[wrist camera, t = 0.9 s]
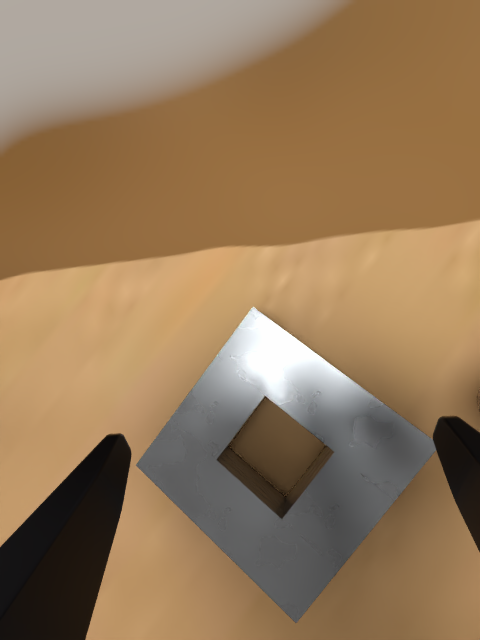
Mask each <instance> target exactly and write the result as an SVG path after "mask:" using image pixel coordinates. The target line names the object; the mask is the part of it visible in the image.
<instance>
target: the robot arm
mask: <svg viewBox="0 0 480 640" xmlns="http://www.w3.org/2000/svg"><path fill="white" fill-rule="evenodd" d="M433 442H434V445H435V448H436V451H437V453H438V456H439V459H440V462H441V464H442V467H443V470H444V473H445V475H446V478H447V481H448V484H449V486H450V489H451V492H452V494H453V497H454V499H455V502H456V504H457V506H458V508H459V510H460V512H461V515H462V517H463V519H464V521H465V523H466V525H467V527H468V529H469V531H470V533H471V535H472V537H473V539H474V541H475V543H476V545H477V548H478V550H479V552H480V432H478V431H477V430H476V429H474V428H473V427H471V426H470V425H469V424H467V423H466V422H465V421H463V420H462V419H461V418H459V417H457V416H442V417H440V418H439V419H438V422H437V425H436V428H435V430H434V433H433ZM130 461H131V449H130V447H129V445H128V443H127V441H126V439H125V437H124V435H123V434H121V433H118V434H109V435H107V436H106V437H105V438H104V439H103V440H102V441H101V442H100V443H99V444H98V445H97V446H96V447H95V448H94V449H93V450H92V451H91V452H90V453H89V454H88V455H87V457H86V458H85V459H84V460H83V461H82V462H81V463H80V464H79V465H78V466H77V467H76V468H75V469H74V470H73V471H72V472H71V473H70V474H69V475H68V476H67V478H66V479H65V480H64V481H63V482H62V483H61V484H60V485H59V486H58V487H57V488H56V489H55V490H54V491H53V492H52V493H51V494H50V495H49V496H48V497H47V499H46V500H45V501H44V502H43V503H42V504H41V505H40V506H39V507H38V508H37V509H36V510H35V511H34V512H33V513H32V514H31V515H30V516H29V517H28V518H27V520H26V521H25V522H24V523H23V524H22V525H21V526H20V527H19V528H18V529H17V530H16V531H15V532H14V533H13V534H12V535H11V536H10V537H9V538H8V539H7V541H6V542H5V543H4V544H3V545H2V546H1V547H0V640H85V639H86V635H87V632H88V628H89V624H90V621H91V617H92V614H93V610H94V607H95V603H96V600H97V596H98V593H99V589H100V586H101V582H102V578H103V575H104V571H105V568H106V564H107V561H108V557H109V554H110V550H111V547H112V543H113V540H114V536H115V533H116V529H117V525H118V522H119V518H120V514H121V511H122V506H123V501H124V495H125V489H126V484H127V478H128V472H129V467H130Z"/></svg>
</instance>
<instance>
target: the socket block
mask: <svg viewBox="0 0 480 640" xmlns="http://www.w3.org/2000/svg"><path fill="white" fill-rule="evenodd" d="M265 396H266V397H267V398H269V399H270V400H271V401H272V402H274V403H275V404H276V405H277V406H279V407H280V408H281V409H282V410H284V411H285V412H286V413H287V414H288V415H290V416H291V417H292V418H293V419H295V420H296V421H297V422H298V423H300V424H301V425H302V426H303V427H305V428H306V429H307V430H308V431H309V432H311V433H312V434H313V435H314V436H316V437H317V438H318V439H319V440H321V441H322V442H323V443H324V444H326V447H325V448H324V449H323V450H322V452H321V453H320V454H319V456H318V457H317V458H316V459H315V461H314V462H313V463H312V465H311V466H310V467H309V468H308V470H307V471H306V472H305V473H304V475H303V476H302V477H301V479H300V480H299V481H298V482H297V484H296V485H295V486H294V488H293V489H292V490H291V491H290V493H289V494H288V495H287V497H286V498H285V497H284V496H283V495H282V494H281V493H280V492H278V491H277V490H276V489H275V488H274V487H273V486H272V485H270V484H269V483H268V482H267V481H266V480H265V479H264V478H263V477H261V476H260V475H259V474H258V473H257V472H256V471H255V470H254V469H252V468H251V467H250V466H249V465H248V464H247V463H246V462H245V461H243V460H242V459H241V458H240V457H239V456H238V455H237V454H235V453H234V452H233V451H232V450H231V449H230V448H229V447H228V445H229V444H230V443H231V441H232V440H233V439H234V437H235V436H236V435H237V433H238V432H239V431H240V429H241V428H242V427H243V425H244V424H245V423H246V421H247V420H248V419H249V417H250V416H251V415H252V414H253V412H254V411H255V410H256V408H257V407H258V406H259V404H260V403H261V402H262V400H263V399H264V398H265ZM435 451H436V448H435V445H434V442H433V440H432V439H431V438H430V437H428V436H427V435H426V434H424V433H423V432H422V431H420V430H419V429H418V428H416V427H415V426H413V425H412V424H411V423H409V422H408V421H407V420H405V419H404V418H403V417H401V416H400V415H399V414H397V413H396V412H394V411H393V410H392V409H390V408H389V407H388V406H386V405H385V404H384V403H382V402H381V401H380V400H378V399H377V398H376V397H374V396H373V395H371V394H370V393H369V392H367V391H366V390H365V389H363V388H362V387H361V386H359V385H358V384H357V383H355V382H354V381H353V380H351V379H350V378H348V377H347V376H346V375H344V374H343V373H342V372H340V371H339V370H338V369H336V368H335V367H334V366H332V365H331V364H330V363H328V362H327V361H325V360H324V359H323V358H321V357H320V356H319V355H317V354H316V353H315V352H313V351H312V350H311V349H309V348H308V347H307V346H305V345H304V344H302V343H301V342H300V341H298V340H297V339H296V338H294V337H293V336H292V335H290V334H289V333H288V332H286V331H285V330H284V329H282V328H281V327H279V326H278V325H277V324H275V323H274V322H273V321H271V320H270V319H269V318H267V317H266V316H265V315H263V314H262V313H261V312H259V311H258V310H256V309H255V308H254V307H252V309H251V310H250V311H249V313H248V314H247V316H246V317H245V318H244V320H243V321H242V322H241V324H240V325H239V326H238V328H237V329H236V330H235V332H234V333H233V334H232V336H231V337H230V339H229V340H228V341H227V343H226V344H225V345H224V347H223V348H222V349H221V351H220V352H219V353H218V355H217V356H216V357H215V359H214V360H213V362H212V363H211V364H210V366H209V367H208V368H207V370H206V371H205V372H204V374H203V375H202V376H201V378H200V379H199V380H198V382H197V383H196V385H195V386H194V387H193V389H192V390H191V391H190V393H189V394H188V395H187V397H186V398H185V399H184V401H183V402H182V403H181V405H180V406H179V408H178V409H177V410H176V412H175V413H174V414H173V416H172V417H171V418H170V420H169V421H168V422H167V424H166V425H165V426H164V428H163V429H162V430H161V432H160V433H159V435H158V436H157V437H156V439H155V440H154V441H153V443H152V444H151V445H150V447H149V448H148V449H147V451H146V452H145V453H144V455H143V456H142V458H141V459H140V460H139V462H138V463H137V464H136V466H137V467H138V468H139V469H140V470H141V471H142V472H143V473H144V474H145V475H146V476H147V477H148V478H150V479H151V480H152V481H153V482H154V483H155V484H156V485H157V486H158V487H159V488H160V489H161V490H162V491H163V492H164V493H165V494H166V495H167V496H168V497H169V498H170V499H171V500H172V501H173V502H174V503H175V504H176V505H177V506H178V507H179V508H180V509H181V510H182V511H183V512H184V513H185V514H186V515H187V516H188V517H189V518H190V519H191V520H192V521H193V522H194V523H195V524H196V525H197V526H198V527H199V528H200V529H201V530H202V531H203V532H204V533H205V534H206V535H207V536H208V537H209V538H210V539H211V540H212V541H213V542H214V543H215V544H216V545H217V546H218V547H219V548H220V549H221V550H222V551H223V552H224V553H225V554H227V555H228V556H229V557H230V558H231V559H232V560H233V561H234V562H235V563H236V564H237V565H238V566H239V567H240V568H241V569H242V570H243V571H244V572H245V573H246V574H247V575H248V576H249V577H250V578H251V579H252V580H253V581H254V582H255V583H256V584H257V585H258V586H259V587H260V588H261V589H262V590H263V591H264V592H265V593H266V594H267V595H268V596H269V597H270V598H271V599H272V600H273V601H274V602H275V603H276V604H277V605H278V606H279V607H280V608H281V609H282V610H283V611H284V612H285V613H286V614H287V615H288V616H289V617H290V618H291V619H292V620H293V621H294V622H295V623H297V622H298V620H299V619H300V618H301V617H302V615H303V614H304V613H305V612H306V610H307V609H308V608H309V607H310V605H311V604H312V603H313V602H314V601H315V599H316V598H317V597H318V596H319V594H320V593H321V592H322V591H323V589H324V588H325V587H326V586H327V584H328V583H329V582H330V581H331V579H332V578H333V577H334V576H335V575H336V573H337V572H338V571H339V570H340V568H341V567H342V566H343V565H344V563H345V562H346V561H347V560H348V558H349V557H350V556H351V555H352V553H353V552H354V551H355V550H356V549H357V547H358V546H359V545H360V544H361V542H362V541H363V540H364V539H365V537H366V536H367V535H368V534H369V532H370V531H371V530H372V529H373V527H374V526H375V525H376V524H377V523H378V521H379V520H380V519H381V518H382V516H383V515H384V514H385V513H386V511H387V510H388V509H389V508H390V506H391V505H392V504H393V503H394V501H395V500H396V499H397V498H398V496H399V495H400V494H401V493H402V492H403V490H404V489H405V488H406V487H407V485H408V484H409V483H410V482H411V480H412V479H413V478H414V477H415V475H416V474H417V473H418V472H419V470H420V469H421V468H422V467H423V466H424V464H425V463H426V462H427V461H428V459H429V458H430V457H431V456H432V454H433V453H434V452H435Z"/></svg>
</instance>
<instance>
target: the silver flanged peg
mask: <svg viewBox="0 0 480 640" xmlns="http://www.w3.org/2000/svg"><path fill="white" fill-rule="evenodd" d="M477 404H478V408H479V411H480V389H479V392H478V396H477Z"/></svg>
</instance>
